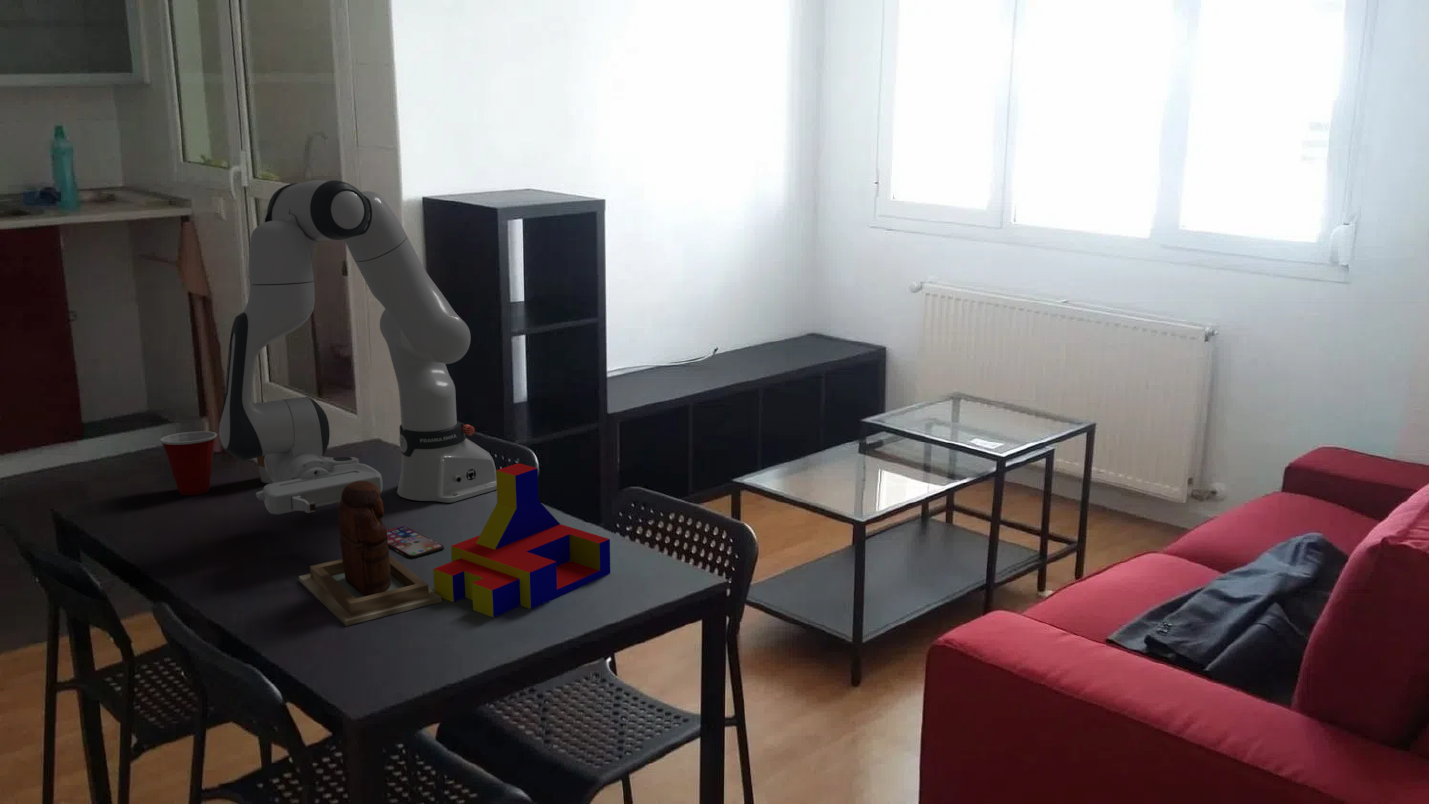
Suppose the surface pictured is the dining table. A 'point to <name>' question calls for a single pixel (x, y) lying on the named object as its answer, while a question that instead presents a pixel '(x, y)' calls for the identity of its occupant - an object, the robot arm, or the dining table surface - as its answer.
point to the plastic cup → (190, 460)
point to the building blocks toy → (521, 553)
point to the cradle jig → (358, 608)
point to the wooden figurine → (364, 538)
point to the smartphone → (411, 543)
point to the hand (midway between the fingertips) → (338, 502)
